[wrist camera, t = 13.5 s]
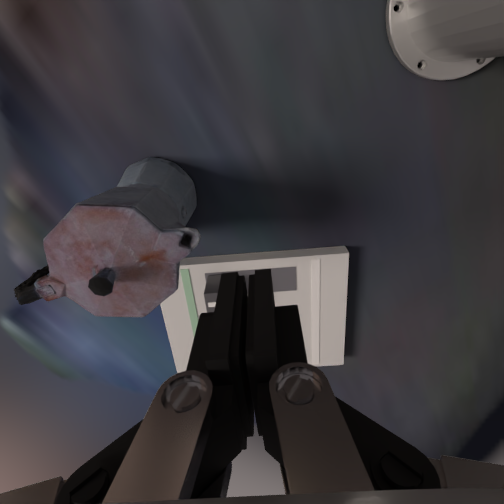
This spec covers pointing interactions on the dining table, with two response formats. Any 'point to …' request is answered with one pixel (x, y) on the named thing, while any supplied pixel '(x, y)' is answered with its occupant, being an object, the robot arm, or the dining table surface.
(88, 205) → the moka pot
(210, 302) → the block
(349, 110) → the dining table surface
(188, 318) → the panel
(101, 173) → the dining table surface
